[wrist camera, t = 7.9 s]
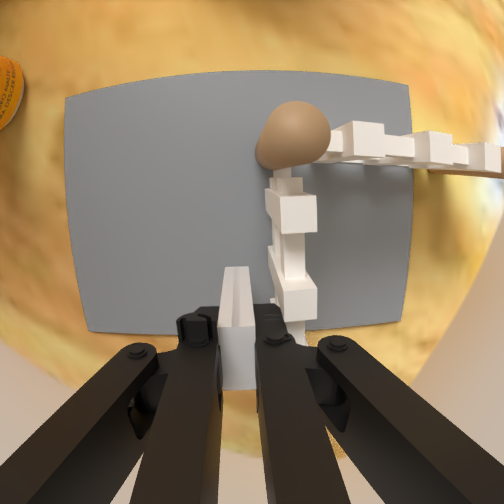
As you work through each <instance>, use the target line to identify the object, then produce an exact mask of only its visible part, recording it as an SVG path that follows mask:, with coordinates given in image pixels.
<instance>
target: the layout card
mask: <svg viewBox="0 0 504 504" xmlns="http://www.w3.org/2000/svg"><path fill="white" fill-rule="evenodd" d="M291 101H302V102H306V103H309V104H311V105H313V106H315V107H317V108H318V109H319V110H320V111H321V112H322V113H323V114H324V115H325V117H326V118H327V120H328V123H329V125H330V129H331V130H334V129H336V128H338V127H340V126H342V125H344V124H346V123H349V122H351V121H362V122H372V123H381V124H384V133H385V135H393V136H403V135H408V134H412V120H411V108H410V97H409V88H408V85H405V84H400V83H395V82H390V81H384V80H378V79H371V78H365V77H357V76H349V75H341V74H331V73H319V72H303V71H275V70H251V71H223V72H208V73H196V74H186V75H177V76H169V77H161V78H154V79H148V80H142V81H136V82H131V83H125V84H120V85H116V86H111V87H106V88H102V89H98V90H93V91H89V92H86V93H82V94H78V95H74V96H71V97H67V98H66V101H65V121H64V166H65V187H66V201H67V213H68V222H69V231H70V239H71V246H72V253H73V259H74V265H75V271H76V277H77V282H78V287H79V292H80V297H81V301H82V306H83V310H84V314H85V318H86V323H87V326H88V330H89V331H91V332H107V333H126V334H156V335H178V332H177V325H176V320H177V319H178V318H179V317H180V316H182V315H184V314H188V313H193V312H194V311H195V310H197V309H198V308H199V307H200V306H220V301H221V294H222V286H223V278H224V271H225V267H239V266H249V275H250V284H251V293H252V302H253V304H266V303H270V298H275V287H274V284H273V280H272V277H271V273H270V269H269V265H268V246H271V245H273V239H272V219H271V217H270V216H269V214H268V213H267V211H266V206H265V189H267V188H270V181H269V178H272V177H288V178H289V177H302V178H303V192H305V193H308V194H312V195H316V201H317V232H306V233H305V270H306V271H307V273H308V275H309V276H310V278H311V279H312V281H313V282H314V284H315V285H316V287H317V319H312V320H305V331H309V330H321V329H333V328H343V327H353V326H362V325H371V324H379V323H387V322H394V321H401V316H402V310H403V304H404V297H405V290H406V283H407V275H408V266H409V257H410V246H411V233H412V216H413V168H409V165H385V166H379V165H363V160H354V161H345V162H336V163H309V164H305V165H299V166H294V167H288V168H283V169H278V170H268V169H265V168H263V167H262V166H261V165H260V164H259V163H258V162H257V160H256V158H255V147H256V145H257V142H258V140H259V138H260V136H261V133H262V131H263V129H264V126H265V124H266V122H267V120H268V118H269V116H270V114H271V113H272V112H273V111H274V109H276V108H277V107H278V106H280V105H282V104H284V103H286V102H291Z"/></svg>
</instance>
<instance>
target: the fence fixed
mask: <svg viewBox="0 0 504 504" xmlns="http://www.w3.org/2000/svg"><path fill="white" fill-rule="evenodd" d="M255 158H256V160H257V162H258V163H259V164H260V165H261V166H262V167H263V168H265V169H268V170H278V169H283V168H288V167H294V166H299V165H305V164H309V163H336V162H345V161H354V160H363V165H379V166H385V165H409V168H417V169H427V170H428V171H429V172H431V173H433V174H449V175H464V176H477V177H489V178H499V179H504V147H500V146H497V145H493V144H489V143H485V142H480V143H464V144H453V139H452V135H450V134H445V133H440V132H435V131H424V132H418V133H413V134H408V135H403V136H393V135H385V133H384V124H381V123H372V122H362V121H351V122H349V123H346V124H344V125H342V126H340V127H338V128H336V129H334V130H331V129H330V125H329V123H328V120H327V118H326V117H325V115H324V114H323V113H322V112H321V111H320V110H319V109H318V108H317V107H315V106H313V105H311V104H309V103H306V102H302V101H291V102H286V103H284V104H282V105H280V106H278V107H277V108H276V109H274V111H273V112H272V113H271V114H270V116H269V118H268V120H267V122H266V124H265V126H264V129H263V131H262V133H261V136H260V138H259V140H258V142H257V145H256V147H255Z"/></svg>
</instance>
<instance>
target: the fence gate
mask: <svg viewBox="0 0 504 504" xmlns="http://www.w3.org/2000/svg"><path fill="white" fill-rule="evenodd" d="M269 181H270V188H267V189H265V206H266V211H267V213H268V214H269V216H270V217H271V219H272V239H273V245H271V246H268V265H269V269H270V273H271V277H272V280H273V284H274V287H275V298H270V303H275V304H276V305H277V306H279V307H280V309H281V312H282V316H283V319H284V322H285V324H286V327H287V331H288V333H289V334H291V335H292V336H293V337H294V338H295V341H296V343H297V344H300V345H304V346H308V343H307V340H306V338H305V320H312V319H317V287H316V285H315V284H314V282H313V281H312V279H311V278H310V276H309V275H308V273H307V271H306V270H305V233H306V232H317V201H316V195H312V194H308V193H305V192H303V178H302V177H289V178H288V177H272V178H269Z"/></svg>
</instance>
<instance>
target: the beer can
mask: <svg viewBox="0 0 504 504" xmlns="http://www.w3.org/2000/svg"><path fill="white" fill-rule="evenodd" d="M23 92H24V79H23V73H22V69H21V67H20V65H19V64H18V63H17V62H15V61H13V60H11V59H8V58H6V57H3V56H1V55H0V130H1V129H3V127H5V126H6V125H7V124H8V123H9V122H10V121H11V120H12V118H13V117H14V115H15V114H16V112H17V110H18V108H19V106H20V103H21V100H22V97H23Z"/></svg>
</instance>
